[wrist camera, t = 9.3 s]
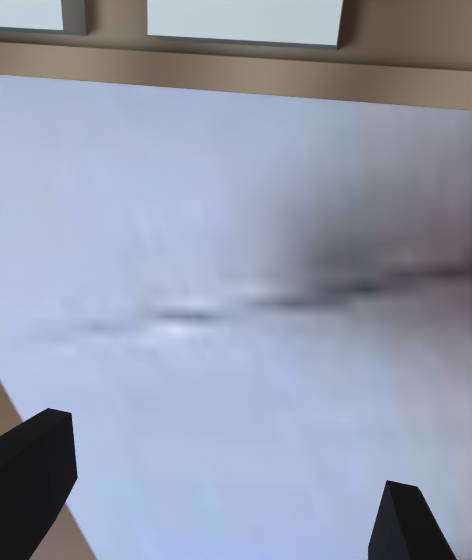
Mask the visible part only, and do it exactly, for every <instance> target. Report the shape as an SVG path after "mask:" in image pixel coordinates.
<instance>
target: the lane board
mask: <svg viewBox="0 0 472 560" xmlns="http://www.w3.org/2000/svg"><path fill="white" fill-rule="evenodd" d="M85 18H86V36H76V35H58V34H41V33H23V32H6V31H0V74H1V75H14V76H28V77H41V78H54V79H67V80H80V81H93V82H106V83H120V84H133V85H146V86H159V87H172V88H185V89H199V90H212V91H225V92H238V93H251V94H264V95H278V96H291V97H304V98H317V99H330V100H343V101H356V102H370V103H383V104H396V105H409V106H422V107H435V108H449V109H462V110H472V0H344V2H343V9H342V16H341V23H340V30H339V37H338V44H337V50H321V49H303V48H286V47H268V46H251V45H233V44H216V43H198V42H181V41H164V40H161V39H158V38H156V37H153V36H150V35H148V14H147V0H85Z"/></svg>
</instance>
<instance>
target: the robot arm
mask: <svg viewBox="0 0 472 560" xmlns="http://www.w3.org/2000/svg"><path fill="white" fill-rule="evenodd" d="M77 478H78V477H77V467H76V456H75V446H74V435H73V425H72V414H71V413H69V412H64V411H59V410H55V409H50V408H47V409H46V410H44V411H42V412H40V413H38V414H37V415H35V416H33V417H32V418H30V419H28V420H26V421H25V422H23V423H21V424H20V425H18V426H16V427H15V428H13V429H11V430H10V431H8V432H6V433H5V434H3V435H2V436H0V560H29V559H30V557H31V556H32V554H33V553H34V551H35V550H36V548H37V547H38V545H39V544H40V542H41V540H42V539H43V538H44V536H45V535H46V534H47V532H48V530H49V529H50V527H51V526H52V524H53V523H54V521H55V520H56V518H57V516H58V514H59V512H60V510H61V508H62V507H63V505H64V503H65V501H66V499H67V498H68V496H69V494H70V492H71V490H72V488H73V486H74V484H75V482H76V480H77ZM368 560H457V559H456V557H455V555H454V554H453V552H452V550H451V548H450V546H449V544H448V543H447V541H446V539H445V537H444V535H443V533H442V531H441V530H440V528H439V526H438V524H437V522H436V520H435V518H434V516H433V514H432V512H431V510H430V508H429V506H428V504H427V502H426V500H425V498H424V496H423V494H422V492H421V491H420V490H419V488H418V487H416V486H412V485H407V484H402V483H398V482H393V481H388V480H387V481H386V484H385V488H384V492H383V495H382V499H381V503H380V506H379V510H378V514H377V517H376V521H375V524H374V528H373V532H372V535H371V539H370V543H369V546H368Z"/></svg>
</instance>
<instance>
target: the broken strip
mask: <svg viewBox="0 0 472 560" xmlns="http://www.w3.org/2000/svg"><path fill="white" fill-rule="evenodd" d="M343 2H344V0H147V14H148V35H150V36H153V37H156V38H158V39H161V40H164V41H181V42H198V43H216V44H233V45H251V46H268V47H286V48H303V49H321V50H337V44H338V37H339V30H340V23H341V16H342V9H343ZM0 31H6V32H23V33H41V34H58V35H76V36H86V18H85V0H0Z"/></svg>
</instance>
